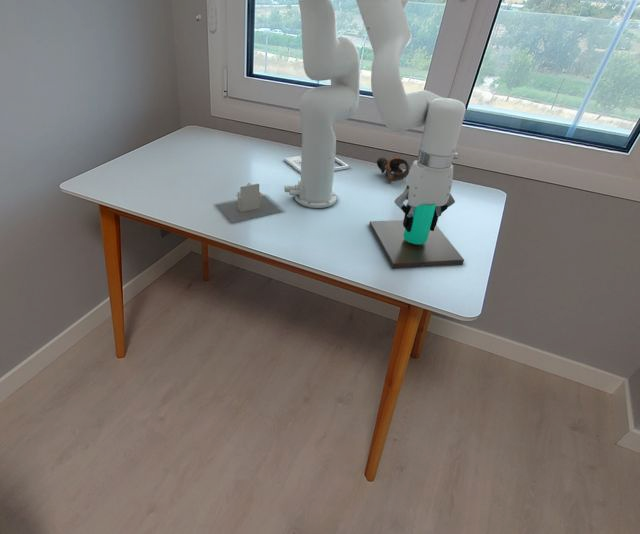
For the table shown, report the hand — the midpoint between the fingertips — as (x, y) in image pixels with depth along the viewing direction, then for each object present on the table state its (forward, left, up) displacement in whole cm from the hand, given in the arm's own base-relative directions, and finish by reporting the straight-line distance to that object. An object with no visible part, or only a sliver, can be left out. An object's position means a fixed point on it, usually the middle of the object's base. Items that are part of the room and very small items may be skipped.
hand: (418, 228), depth 101 cm
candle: (0, 0, -3) cm, 3 cm away
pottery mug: (+8, +43, -6) cm, 44 cm away
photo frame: (-16, +55, -5) cm, 58 cm away
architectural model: (-41, +23, -6) cm, 47 cm away
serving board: (0, +1, -5) cm, 5 cm away
